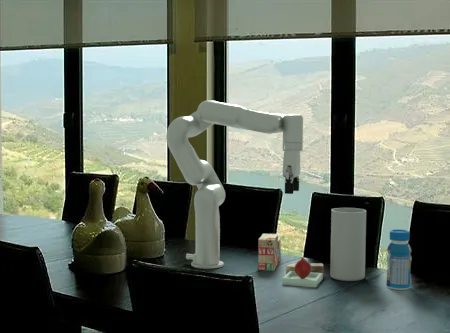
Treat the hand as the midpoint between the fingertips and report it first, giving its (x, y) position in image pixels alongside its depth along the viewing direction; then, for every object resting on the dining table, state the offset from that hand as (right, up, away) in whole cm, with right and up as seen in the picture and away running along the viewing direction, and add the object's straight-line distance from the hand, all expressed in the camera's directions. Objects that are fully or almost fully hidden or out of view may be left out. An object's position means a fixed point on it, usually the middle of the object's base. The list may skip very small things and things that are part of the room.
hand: (291, 192), depth 272 cm
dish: (+3, -32, -15) cm, 35 cm away
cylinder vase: (+20, -31, -7) cm, 38 cm away
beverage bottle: (+35, -33, -22) cm, 52 cm away
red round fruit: (+2, -31, -14) cm, 34 cm away
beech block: (+1, -31, -4) cm, 31 cm away
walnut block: (+9, -31, -6) cm, 33 cm away
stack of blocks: (-8, -30, +14) cm, 34 cm away
